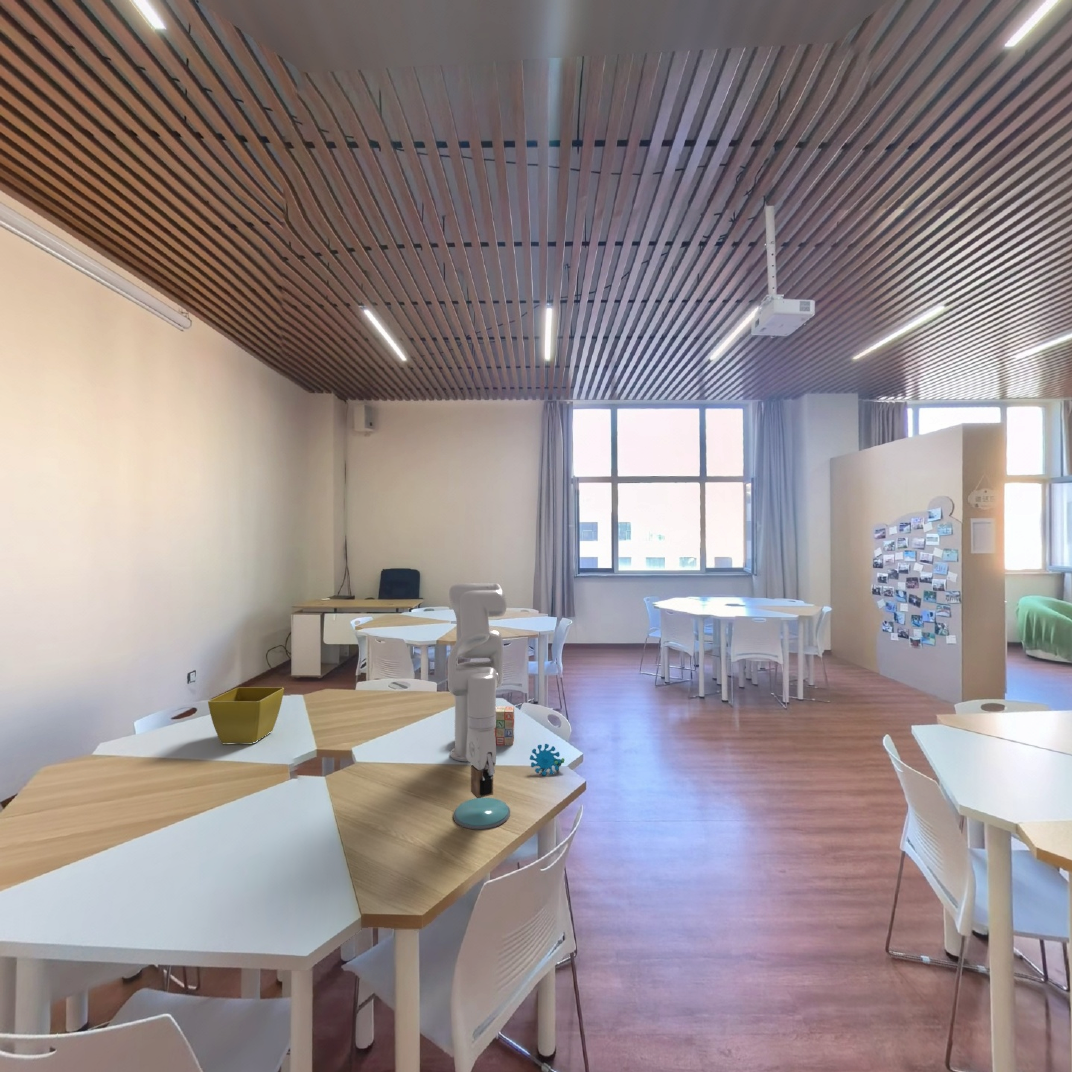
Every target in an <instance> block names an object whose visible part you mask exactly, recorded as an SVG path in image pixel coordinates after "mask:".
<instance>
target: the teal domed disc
mask: <svg viewBox="0 0 1072 1072" xmlns="http://www.w3.org/2000/svg"><path fill="white" fill-rule="evenodd" d="M510 816H511V809H510V806H508V804H506V802H504V800H503V801H502V800H501V799H497V798H493V797H482V798H478V799H477V798H476V797H475V798H471V799H468V800H465V801H464V802H462V803H460V804H459V805H458V806H456V808H455V809H454V810H453V820H454V822H455V823H456V824H457V825H458V826H460V827H462V828H465V829H468V830H475V831H476V830H482V831H483V830H490V829H494V828H497V827H499V826H501V825H503V824H504V823H506V822H507V821H508V820H509V818H510Z"/></svg>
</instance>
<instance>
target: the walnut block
mask: <svg viewBox="0 0 1072 1072" xmlns="http://www.w3.org/2000/svg"><path fill="white" fill-rule="evenodd" d="M486 766H487V765H485V767H486ZM487 771H488V769H487V770H484V774H485V772H487ZM492 777H493V778H492V793H491V794H488V795H484V796H481V795H480V780H481V770H478V769H477V768H475V767H474V766H473V765H472V764H471V765H470V792H471V793H472V795H473V796H474V797H475V798H477V799H478V798H487V797H489V796H493V795H494V775H493V776H492Z"/></svg>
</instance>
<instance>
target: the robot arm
mask: <svg viewBox="0 0 1072 1072" xmlns="http://www.w3.org/2000/svg"><path fill="white" fill-rule="evenodd" d="M448 595H449V601H450V605H451V607H452V609H453V612H454V616H455V618H456V619H455V620H456V642H455V644H454V645H453V646H452V647H451V650H450V652H449V653H448V657H447V668H446V669H447V687H448V691H449V693H450V694H451V695H452V696H454V748H452V750H450V753H449V754H450V758H451V759H453V760H456V761H458V762H468V763H470V764H471V765H473V766H474V767H475V768H477V769H478V770H481V780H480V795H481V796H484V795H488V794H491V793H492V778H493V779H494V775H495V772H496V770H495V767H496V762H497V749H496V748H497V745H496V744H495V732H494V728H495V727H496V704H497V701H496V697H497V695H496V694H497V693H496V691H497V689H499V688H501V687H502V685H503V681H504V646H503V645H504V642H503V637H502V636H503V635H502V634H501V633H500V632H499V631H498V630H496V629H490V624H489V617H490V618H493V617H495V618H498V617H502V616H504V615H505V614H506V612H507V597H506V595H505V591H504V590H503V589H502V586H501V585H500V584H499V583H496V582H466V583H465V582H464V583H456V584H453V585H451V586H450V588H449V593H448ZM460 658H461V659H468V660H471V659H488V660H485V661H484V660H483V661H480V660H479V661H464V662H460V663H458V660H459V659H460ZM485 765H487V766H486V767H485ZM487 769H488V771H487V772H485V774H484V770H487ZM492 776H493V777H492Z"/></svg>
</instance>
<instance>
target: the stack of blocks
mask: <svg viewBox="0 0 1072 1072" xmlns="http://www.w3.org/2000/svg"><path fill="white" fill-rule="evenodd" d="M494 732H495V744H496V746H514V745H513V744H514V741H515V707H514V706H506V705H505V706H504V705H503V706H502V705H499V706H496V727H495V728H494Z"/></svg>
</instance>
